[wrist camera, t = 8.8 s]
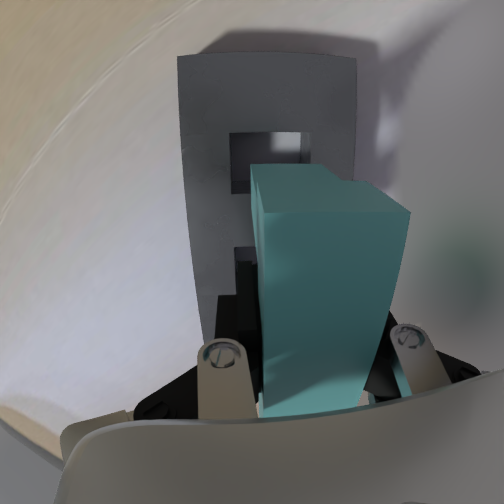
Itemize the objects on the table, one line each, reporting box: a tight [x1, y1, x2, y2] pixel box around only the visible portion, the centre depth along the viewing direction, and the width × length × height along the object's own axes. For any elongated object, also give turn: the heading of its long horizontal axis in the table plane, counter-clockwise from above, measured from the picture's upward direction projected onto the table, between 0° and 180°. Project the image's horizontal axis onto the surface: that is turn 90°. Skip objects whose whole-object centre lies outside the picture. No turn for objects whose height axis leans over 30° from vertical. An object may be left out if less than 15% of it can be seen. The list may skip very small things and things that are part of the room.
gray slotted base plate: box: [177, 52, 357, 344], centre depth 20 cm, size 20×10×3 cm, turn 1°
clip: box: [250, 164, 411, 418], centre depth 11 cm, size 10×3×8 cm, turn 1°
